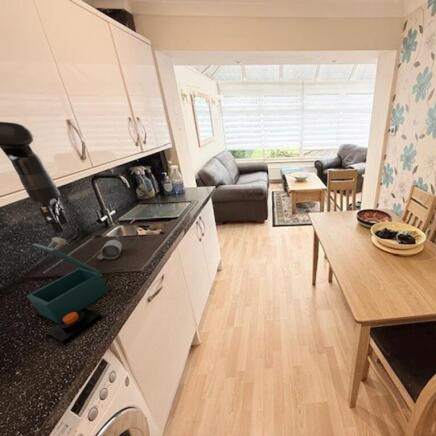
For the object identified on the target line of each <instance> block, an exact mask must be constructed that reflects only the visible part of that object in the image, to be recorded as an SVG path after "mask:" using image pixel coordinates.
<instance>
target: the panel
mask: <svg viewBox="0 0 436 436" xmlns="http://www.w3.org/2000/svg"><path fill="white" fill-rule="evenodd" d="M76 313H77V314H78V316H79V318H78V319H77V320H76V321H75V322H73V323H71V324H65V323H64V321H63V319H62V320H61V322H60V323H58V324H57V325H56V326H55V327H52V329H50V330H49V331H47V332H46V334H47V335H48V336H49V337H50V338H51V339H53V340H55V341H57V342H59V343H61V344H63V345H67V344H68V343H70V342H71V341H73V339H76V337H78V336H79V335H80V334H82V333H83V332H85V331H86V330H88V329H89V328H90V327H91V326H93V325H94V324H95V323H97V322H99V321H100V320H102V316H101V314H100V313H97V312H95V311H93V310H91V309H88V308H86V307H85V308H83V309H82V310H80V311H79V312H76Z"/></svg>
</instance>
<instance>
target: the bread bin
mask: <svg viewBox="0 0 436 436" xmlns="http://www.w3.org/2000/svg"><path fill="white" fill-rule="evenodd" d="M109 292H110V290H109V288H108V286H107V284H106V282H105V281H104V278H103V276H102V274H101V272H100V273H96V272H92V271H89V270H86V269H83V268H80V267H77V269H75V270H73V271H71V272H69V273H67V274H66V275H63V276H62V277H60V278H58V279H56V280H54V281H52V282H50V283H47V284H46V285H45V286H42V287H41V288H39V289H37V290H35V291H34V292H31V293H29V294H28V295H26V297H27V298H28V300H29V301H30V303H31V304H32V305H33V307H34V309H36V311H37V312H38V314H39V315H40V316H43V317H44V318H46V319H49V320H50V321H53V322H54V323H56V324H59V323H60V322H61V320H62V319H63V318H64V317H65V316H66V315H67V314H69V313H72V312H79V311H80V310H82V309H83V308H86V307H88V306H89V305H91V304H92V303H94V302H95V301H97V300H98V299H100V298H102V297H103V296H105V295H106V294H108V293H109Z"/></svg>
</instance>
